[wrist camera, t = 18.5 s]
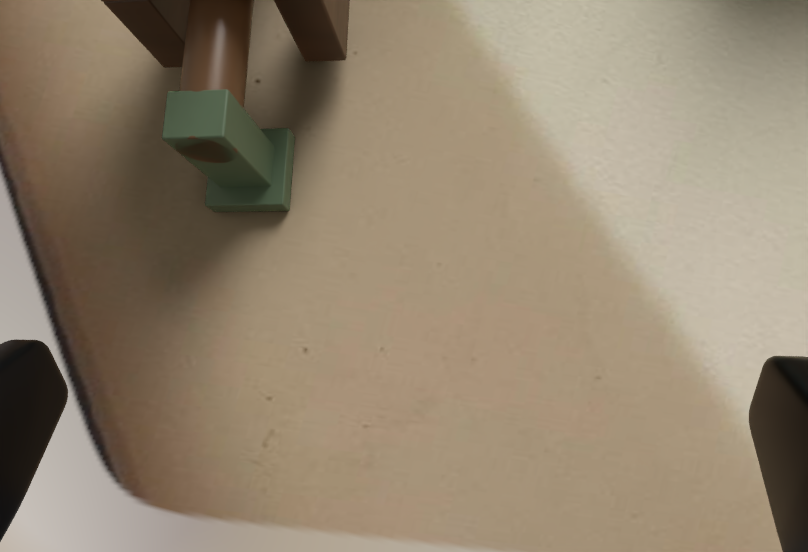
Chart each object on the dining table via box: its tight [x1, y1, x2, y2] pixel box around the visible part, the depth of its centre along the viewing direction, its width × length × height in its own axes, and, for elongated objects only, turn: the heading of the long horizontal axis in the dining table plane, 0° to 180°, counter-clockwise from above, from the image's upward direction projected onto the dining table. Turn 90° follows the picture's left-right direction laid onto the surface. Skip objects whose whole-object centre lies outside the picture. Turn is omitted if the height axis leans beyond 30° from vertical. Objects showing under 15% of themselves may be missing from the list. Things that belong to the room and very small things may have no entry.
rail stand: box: [162, 0, 295, 212], centre depth 22 cm, size 14×3×5 cm, turn 178°
